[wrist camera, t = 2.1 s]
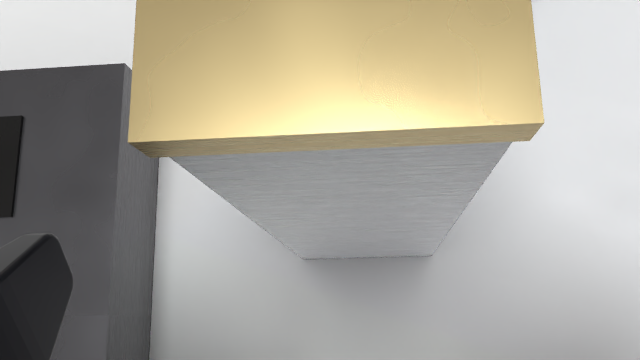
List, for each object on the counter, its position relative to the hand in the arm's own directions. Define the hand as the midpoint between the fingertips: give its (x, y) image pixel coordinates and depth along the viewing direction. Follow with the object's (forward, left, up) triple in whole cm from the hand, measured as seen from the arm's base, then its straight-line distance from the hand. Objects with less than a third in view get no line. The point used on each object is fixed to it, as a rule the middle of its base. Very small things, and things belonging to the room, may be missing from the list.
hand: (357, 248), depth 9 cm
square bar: (+3, 0, -10) cm, 11 cm away
